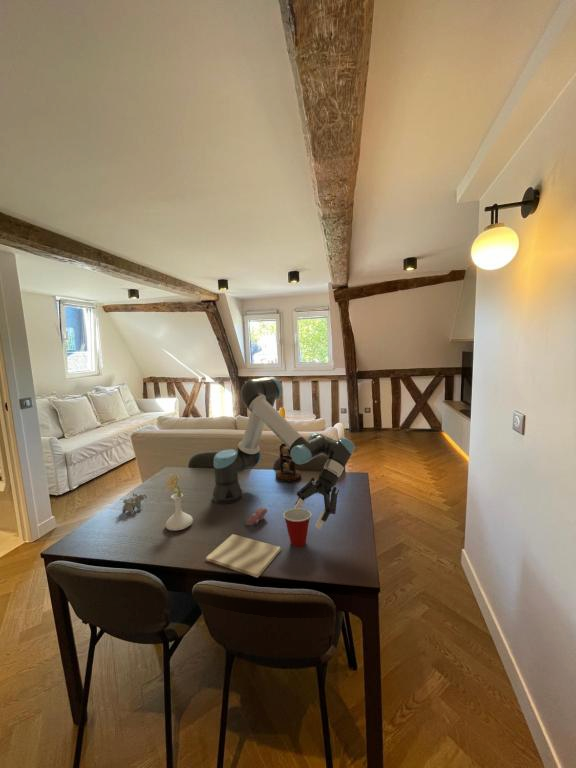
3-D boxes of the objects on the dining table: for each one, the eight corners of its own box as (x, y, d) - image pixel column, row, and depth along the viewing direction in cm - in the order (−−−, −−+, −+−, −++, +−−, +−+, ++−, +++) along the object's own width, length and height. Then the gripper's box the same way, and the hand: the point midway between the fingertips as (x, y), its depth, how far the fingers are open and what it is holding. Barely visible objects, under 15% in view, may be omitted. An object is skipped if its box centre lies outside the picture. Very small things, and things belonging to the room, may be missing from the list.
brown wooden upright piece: (306, 476, 190) (305, 443, 188) (289, 485, 179) (288, 450, 177) (287, 471, 200) (285, 439, 197) (270, 479, 189) (268, 445, 187)
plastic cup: (315, 536, 131) (314, 508, 129) (308, 553, 120) (307, 522, 119) (289, 532, 134) (288, 504, 133) (280, 548, 124) (279, 518, 122)
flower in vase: (165, 523, 146) (160, 468, 143) (191, 516, 150) (187, 464, 148) (166, 538, 134) (161, 479, 131) (195, 531, 139) (190, 473, 136)
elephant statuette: (119, 516, 155) (117, 501, 153) (134, 502, 166) (132, 488, 165) (137, 517, 153) (135, 502, 152) (151, 503, 165) (149, 489, 164)
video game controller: (252, 530, 140) (257, 518, 137) (244, 524, 141) (249, 511, 139) (265, 519, 148) (270, 508, 146) (258, 513, 150) (263, 501, 147)
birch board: (206, 560, 119) (205, 557, 119) (232, 536, 133) (232, 534, 133) (257, 577, 109) (257, 574, 109) (280, 550, 123) (280, 547, 123)
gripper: (359, 486, 127) (333, 538, 119) (315, 469, 146) (290, 513, 139) (349, 477, 123) (322, 530, 116) (305, 460, 142) (279, 505, 135)
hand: (305, 521), depth 127 cm, fingers open, 13 cm apart
